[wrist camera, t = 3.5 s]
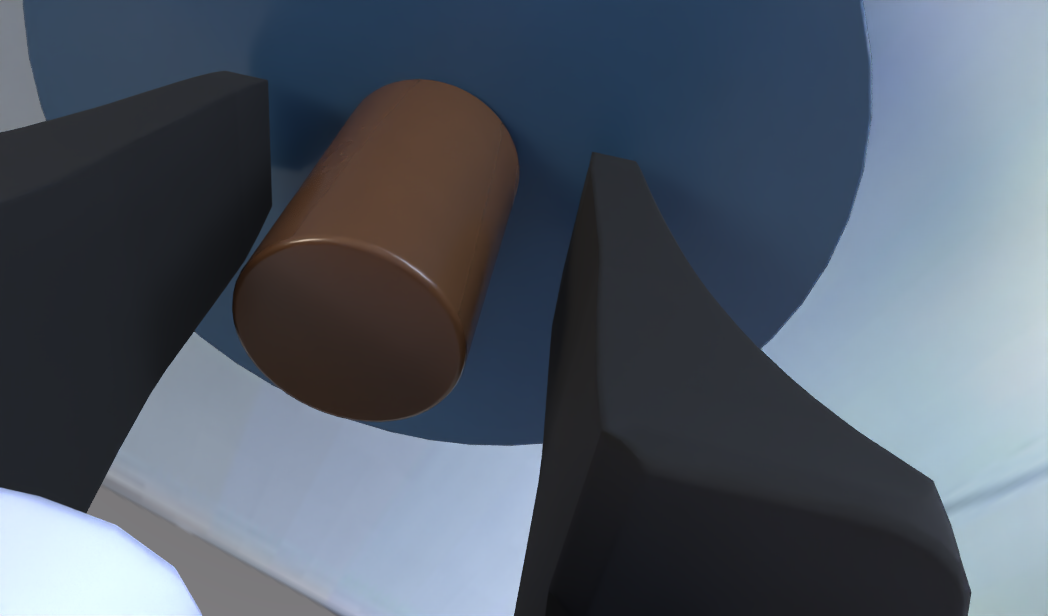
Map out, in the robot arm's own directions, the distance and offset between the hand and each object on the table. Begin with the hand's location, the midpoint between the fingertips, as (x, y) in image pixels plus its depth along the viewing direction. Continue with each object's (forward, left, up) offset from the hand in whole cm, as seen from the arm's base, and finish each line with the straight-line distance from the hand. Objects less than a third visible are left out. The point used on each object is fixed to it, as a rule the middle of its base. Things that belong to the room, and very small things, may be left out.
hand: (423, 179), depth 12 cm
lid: (0, 0, -1) cm, 1 cm away
